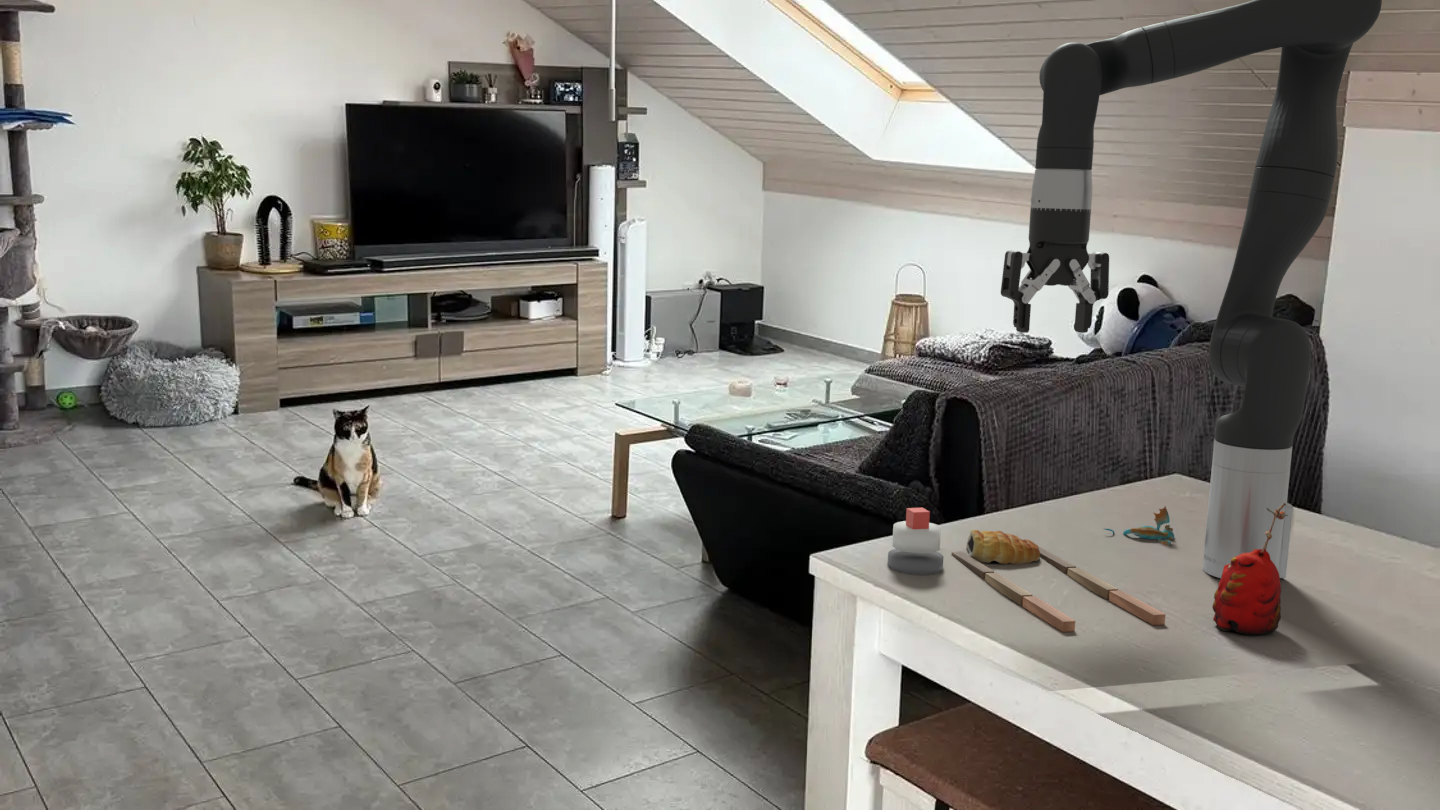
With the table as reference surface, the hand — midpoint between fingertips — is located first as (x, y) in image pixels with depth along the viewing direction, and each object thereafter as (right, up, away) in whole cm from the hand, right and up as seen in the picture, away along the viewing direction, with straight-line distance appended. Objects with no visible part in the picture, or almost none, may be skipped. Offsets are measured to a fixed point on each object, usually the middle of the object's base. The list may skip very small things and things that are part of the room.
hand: (1052, 332), depth 169 cm
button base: (-18, -31, -3) cm, 36 cm away
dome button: (-18, -27, -4) cm, 33 cm away
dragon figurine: (+12, -28, +15) cm, 34 cm away
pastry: (-5, -31, -1) cm, 32 cm away
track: (-3, -32, -10) cm, 34 cm away
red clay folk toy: (+16, -35, -22) cm, 44 cm away
